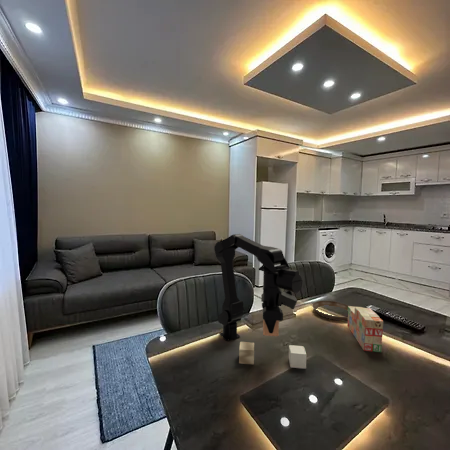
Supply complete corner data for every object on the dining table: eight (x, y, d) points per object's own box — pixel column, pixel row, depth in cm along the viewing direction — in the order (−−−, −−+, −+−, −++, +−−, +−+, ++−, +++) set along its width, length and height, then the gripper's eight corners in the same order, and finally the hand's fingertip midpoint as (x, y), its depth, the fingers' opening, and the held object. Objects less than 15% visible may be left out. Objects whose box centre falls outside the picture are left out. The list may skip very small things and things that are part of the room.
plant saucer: (364, 323, 118) (364, 316, 118) (320, 322, 119) (320, 315, 119) (344, 306, 139) (344, 300, 139) (307, 306, 139) (307, 300, 139)
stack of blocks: (346, 325, 116) (347, 299, 115) (361, 326, 115) (362, 300, 114) (363, 351, 95) (365, 319, 94) (381, 352, 94) (383, 320, 93)
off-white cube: (290, 367, 84) (290, 353, 84) (288, 358, 89) (288, 345, 89) (305, 368, 83) (306, 354, 83) (303, 360, 88) (303, 346, 88)
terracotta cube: (263, 335, 85) (263, 320, 85) (262, 328, 90) (263, 314, 90) (278, 336, 85) (278, 321, 84) (277, 329, 90) (277, 315, 89)
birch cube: (239, 363, 86) (239, 349, 86) (239, 355, 91) (240, 341, 90) (253, 364, 85) (254, 350, 85) (253, 356, 90) (254, 342, 90)
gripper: (300, 295, 76) (299, 345, 77) (291, 278, 95) (290, 319, 96) (263, 293, 78) (262, 342, 78) (261, 277, 96) (260, 317, 97)
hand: (270, 329), depth 87 cm, fingers closed on terracotta cube, 5 cm apart
